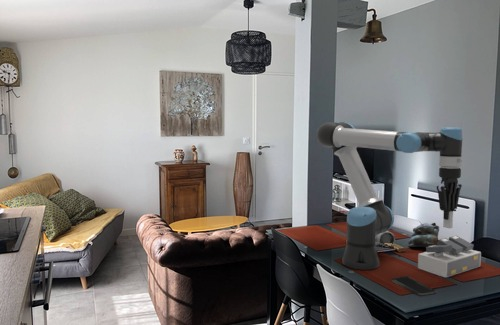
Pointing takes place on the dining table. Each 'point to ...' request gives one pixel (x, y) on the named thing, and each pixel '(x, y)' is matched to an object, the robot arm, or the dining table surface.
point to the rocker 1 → (439, 248)
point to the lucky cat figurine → (424, 235)
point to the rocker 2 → (455, 247)
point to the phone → (413, 286)
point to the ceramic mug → (385, 238)
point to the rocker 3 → (461, 243)
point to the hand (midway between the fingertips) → (447, 227)
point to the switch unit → (449, 262)
